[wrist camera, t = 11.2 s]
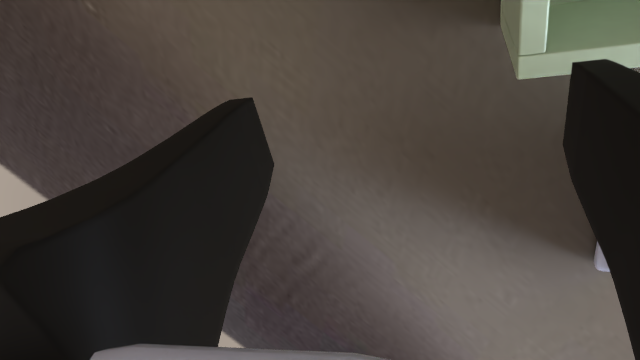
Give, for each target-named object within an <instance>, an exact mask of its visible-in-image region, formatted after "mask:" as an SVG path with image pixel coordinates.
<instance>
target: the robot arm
mask: <svg viewBox="0 0 640 360" xmlns="http://www.w3.org/2000/svg"><path fill="white" fill-rule="evenodd" d="M563 147H564V151H565V155H566V160H567V164H568V168H569V172H570V176H571V179H572V182H573V185H574V187H575V190H576V192H577V195H578V197H579V199H580V202H581V204H582V206H583V209H584V211H585V213H586V216H587V218H588V220H589V223H590V225H591V227H592V230H593V232H594V234H595V237H596V239H597V245H596V250H595V256H594V265H595V268H596V269H597V270H600V271H610V273H611V275H612V278H613V281H614V284H615V288H616V291H617V295H618V298H619V301H620V305H621V308H622V312H623V315H624V319H625V322H626V326H627V330H628V333H629V337H630V341H631V345H632V349H633V352H634V356H635V360H640V73H638V72H636V71H634V70H632V69H630V68H628V67H625V66H623V65H621V64H619V63H616V62H614V61H611V60H608V59H599V60H590V61H581V62H572V70H571V79H570V88H569V96H568V105H567V113H566V122H565V131H564V139H563ZM273 167H274V162H273V159H272V156H271V153H270V150H269V147H268V144H267V141H266V137H265V134H264V131H263V128H262V125H261V122H260V119H259V116H258V113H257V110H256V107H255V104H254V101H253V98H243V99H234V100H229V101H227V102H224V103H222V104H221V105H219V106H217V107H215V108H214V109H212V110H210V111H209V112H207V113H206V114H204V115H203V116H201V117H200V118H198V119H197V120H195V121H194V122H192V123H191V124H189V125H188V126H186V127H185V128H183V129H182V130H180V131H179V132H177V133H176V134H174V135H173V136H171V137H170V138H168V139H166V140H165V141H163V142H162V143H160V144H158V145H157V146H155V147H154V148H152V149H150V150H149V151H147V152H146V153H144V154H142V155H141V156H139V157H138V158H136V159H134V160H132V161H131V162H129V163H127V164H125V165H123V166H122V167H120V168H118V169H116V170H114V171H112V172H110V173H108V174H106V175H104V176H102V177H100V178H98V179H96V180H94V181H92V182H90V183H88V184H85V185H83V186H81V187H78V188H76V189H74V190H71V191H69V192H67V193H65V194H62V195H60V196H58V197H55V198H53V199H51V200H48V201H45V202H43V203H40V204H37V205H35V206H32V207H29V208H27V209H24V210H21V211H18V212H15V213H12V214H9V215H6V216H3V217H0V360H389V359H384V358H379V357H373V356H368V355H363V354H357V353H343V352H320V351H297V350H274V349H251V348H227V347H218V343H219V339H220V335H221V331H222V326H223V322H224V318H225V314H226V310H227V306H228V303H229V299H230V295H231V291H232V288H233V284H234V281H235V278H236V275H237V272H238V269H239V266H240V263H241V261H242V258H243V256H244V253H245V251H246V248H247V246H248V243H249V241H250V239H251V236H252V234H253V231H254V229H255V226H256V224H257V221H258V219H259V216H260V213H261V211H262V208H263V206H264V203H265V200H266V198H267V194H268V190H269V186H270V182H271V177H272V172H273Z"/></svg>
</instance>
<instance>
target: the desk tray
mask: <svg viewBox="0 0 640 360" xmlns="http://www.w3.org/2000/svg"><path fill="white" fill-rule="evenodd" d="M500 26H501V29H502V33H503V36H504V39H505V42H506V46H507V49H508V52H509V55H510V58H511V61H512V65H513V68H514V71H515V74H516V77H517V79H529V78H539V77H548V76H558V75H568V74H571V70H572V62H581V61H590V60H599V59H608V60H611V61H614V62H616V63H619V64H621V65H623V66H625V67H628V68H635V67H640V0H501V14H500Z"/></svg>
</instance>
